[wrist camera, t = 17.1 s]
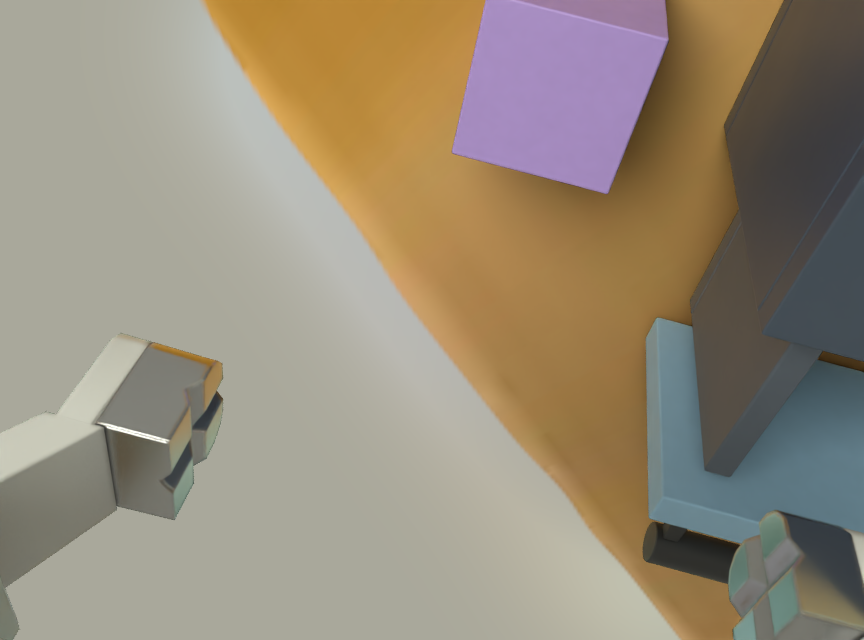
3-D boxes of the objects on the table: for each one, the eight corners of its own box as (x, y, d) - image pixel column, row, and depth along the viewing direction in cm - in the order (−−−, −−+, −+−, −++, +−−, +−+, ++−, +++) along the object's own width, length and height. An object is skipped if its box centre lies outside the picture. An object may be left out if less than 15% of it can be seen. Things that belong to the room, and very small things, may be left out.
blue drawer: (844, 499, 34) (890, 691, 28) (597, 432, 34) (589, 608, 28) (1213, 103, 21) (1449, 295, 15) (816, 2, 21) (889, 151, 15)
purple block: (664, -28, 23) (669, 39, 19) (612, 113, 26) (608, 195, 22) (511, -67, 23) (487, -8, 19) (477, 78, 26) (451, 154, 22)
